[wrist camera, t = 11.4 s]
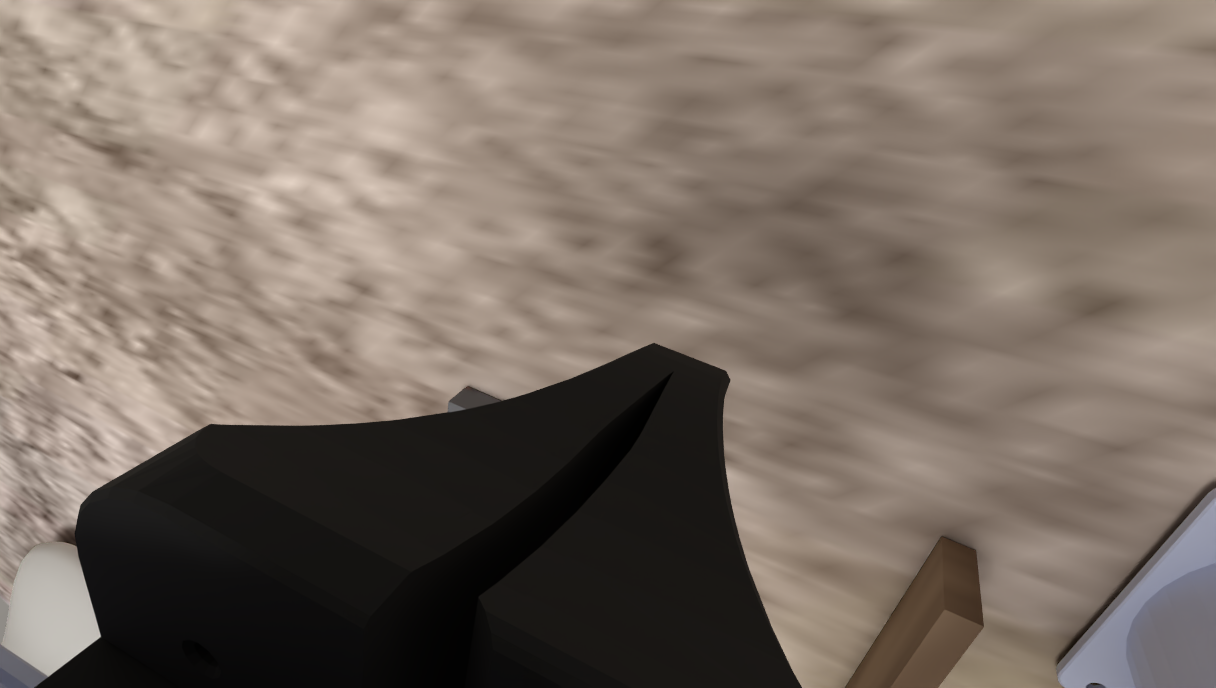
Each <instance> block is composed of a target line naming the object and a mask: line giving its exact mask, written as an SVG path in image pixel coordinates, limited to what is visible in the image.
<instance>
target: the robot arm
mask: <svg viewBox="0 0 1216 688" xmlns="http://www.w3.org/2000/svg"><path fill="white" fill-rule="evenodd" d="M729 383H730V378H729V376H728V374H727V372H726V371H725V370H722V369H720V368H717V367H715V366H712V365H709V364H707V363H704V362H702V361H699V360H696V359H694V358H691V357H689V356H686V355H684V354H681V353H678V352H676V351H673V350H671V349H668V348H666V347H663V346H660V345H658V344H655V343H653V344H650V345H648V346H645V347H643V348H641V349H638V350H636V351H634V352H631V353H629V354H627V355H625V356H623V357H620V358H618V359H616V360H614V361H611V362H609V363H607V364H605V365H602V366H600V367H598V368H595V369H593V370H591V371H588V372H586V373H583V374H581V375H578V376H576V377H574V378H571V379H569V380H566V381H563V382H560V383H557V384H554V385H551V386H548V387H546V388H543V389H540V390H537V391H534V392H531V393H528V394H525V395H522V396H518V397H515V398H511V399H507V400H504V401H500V402H496V403H491V404H487V405H483V406H478V407H474V408H470V409H465V410H460V411H454V412H447V413H441V414H434V415H427V416H421V417H414V418H407V419H400V420H392V421H381V422H369V423H357V424H338V425H314V426H270V425H218V424H210V425H208V426H206V427H204V428H202V429H200V430H199V431H197V432H195V433H193V434H192V435H190V436H188V437H186V438H185V439H183V440H181V441H179V442H178V443H176V444H174V445H173V446H171V447H169V448H167V449H166V450H164V451H162V452H160V453H159V454H157V455H155V456H154V457H152V458H150V459H148V460H147V461H145V462H143V463H141V464H140V465H138V466H136V467H135V468H133V469H131V470H129V471H128V472H126V473H124V474H122V475H121V476H119V477H117V478H116V479H114V480H112V481H110V482H109V483H107V484H105V485H103V486H102V487H100V488H98V489H97V490H95V491H93V492H92V493H91V494H90V495H89V496H88V497H87V498H86V500H85V501H84V502H83V503H82V504H81V506H80V510H79V514H78V519H77V524H76V530H75V539H76V545H77V551H78V557H79V561H80V564H81V568H82V571H83V575H84V578H85V582H86V585H87V589H88V593H89V596H90V600H91V603H92V607H93V610H94V614H95V617H96V621H97V624H98V628H99V632H100V635H101V637H100V638H98V639H97V640H96V641H95V642H93V643H92V644H91V645H89V646H88V647H87V648H85V649H84V650H83V651H81V652H80V653H79V654H77V655H76V656H75V657H74V658H72V659H71V660H70V661H68V662H67V663H66V664H64V665H63V666H62V667H60V668H59V669H58V670H56V671H55V672H54V673H53V674H51V675H50V676H49V677H48V676H47V675H45V674H44V673H42V672H41V671H39V670H38V669H36V668H35V667H33V666H32V665H31V664H29V663H28V662H26V661H25V660H23V659H22V658H20V657H19V656H17V655H16V654H14V653H13V652H11V651H10V650H8V649H7V648H5V647H4V646H2V645H1V644H0V688H802V687H801V685H800V683H799V682H798V680H797V678H796V676H795V675H794V673H793V671H792V669H791V667H790V665H789V663H788V660H787V658H786V656H785V654H784V652H783V650H782V648H781V646H780V644H779V641H778V639H777V637H776V635H775V633H774V631H773V629H772V627H771V624H770V621H769V619H768V616H767V614H766V611H765V609H764V606H763V604H762V601H761V599H760V596H759V593H758V591H757V588H756V586H755V583H754V581H753V578H752V576H751V573H750V570H749V567H748V564H747V561H746V558H745V554H744V551H743V548H742V545H741V541H740V538H739V534H738V530H737V526H736V522H735V518H734V514H733V510H732V505H731V500H730V494H729V489H728V482H727V475H726V468H725V459H724V444H723V407H724V398H725V394H726V391H727V388H728V385H729ZM1056 671H1057V676H1058V681H1059V683H1060V684H1061V685H1062V686H1063V687H1064V688H1216V488H1214V489H1213V490H1212V491H1210V492H1209V493H1208V494H1207V495H1206V496H1205V497H1204V498H1203V499H1202V501H1201V502H1200V503H1199V504H1198V505H1197V506H1196V507H1195V509H1194V510H1193V511H1192V512H1191V513H1190V514H1189V515H1188V517H1187V518H1186V519H1185V520H1184V521H1183V522H1182V523H1181V524H1180V526H1179V527H1178V528H1177V529H1176V530H1175V531H1174V532H1173V534H1172V535H1171V536H1170V537H1169V538H1168V539H1167V540H1166V542H1165V543H1164V544H1163V545H1162V546H1161V547H1160V548H1159V550H1158V551H1157V552H1156V553H1155V554H1154V555H1153V556H1152V558H1151V559H1150V560H1149V561H1148V562H1147V563H1146V564H1145V565H1144V567H1143V568H1142V569H1141V570H1140V571H1139V572H1138V573H1137V575H1136V576H1135V577H1134V578H1133V579H1132V580H1131V581H1130V583H1129V584H1128V585H1127V586H1126V587H1125V588H1124V589H1123V591H1122V592H1121V593H1120V594H1119V595H1118V596H1117V597H1116V598H1115V600H1114V601H1113V602H1112V603H1111V604H1110V605H1109V606H1108V608H1107V609H1106V610H1105V611H1104V612H1103V613H1102V614H1101V616H1100V617H1099V618H1098V619H1097V620H1096V621H1095V622H1094V624H1093V625H1092V626H1091V627H1090V628H1089V629H1088V630H1087V631H1086V633H1085V634H1084V635H1083V636H1082V637H1081V638H1080V639H1079V641H1078V642H1077V643H1076V644H1075V645H1074V646H1073V647H1072V649H1071V650H1070V651H1069V652H1068V653H1067V654H1066V655H1065V657H1064V658H1063V659H1062V660H1061V661H1060V662H1059V663H1058V665H1057V667H1056ZM1090 683H1099V684H1100V685H1091V684H1090Z"/></svg>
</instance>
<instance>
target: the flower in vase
mask: <svg viewBox="0 0 1216 688" xmlns="http://www.w3.org/2000/svg"><path fill="white" fill-rule="evenodd" d="M100 637H101V635H100V632H99V628H98V624H97V621H96V617H95V614H94V610H93V607H92V603H91V600H90V596H89V593H88V589H87V585H86V582H85V578H84V575H83V571H82V568H81V564H80V561H79V557H78V551H77V546H75V545H72V544H69V543H65V542H49V543H41V544H38V545H36V546H34V547H33V548H32V550H31V551H30V552H29V553H28V554H27V555H26V556H25V558H24V559H23V560H22V562H21V564H20V567H19V569H18V572H17V575H16V578H15V581H14V585H13V590H12V595H11V600H10V606H9V613H8V619H7V624H6V629H5V633H4V638H3V641H2V643H1V645H2V646H4V647H5V648H7V649H8V650H10V651H11V652H13V653H14V654H16V655H17V656H19V657H20V658H22V659H23V660H25V661H26V662H28V663H29V664H31V665H32V666H33V667H35V668H36V669H38V670H39V671H41V672H42V673H44V674H45V675H47V676H48V677H49V676H50V675H51V674H53V673H54V672H55V671H56V670H58V669H59V668H60V667H62V666H63V665H64V664H66V663H67V662H68V661H70V660H71V659H72V658H74V657H75V656H76V655H77V654H79V653H80V652H81V651H83V650H84V649H85V648H87V647H88V646H89V645H91V644H92V643H93V642H95V641H96V640H97V639H98V638H100Z"/></svg>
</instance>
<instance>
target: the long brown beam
mask: <svg viewBox="0 0 1216 688" xmlns="http://www.w3.org/2000/svg"><path fill="white" fill-rule="evenodd" d="M983 627H984V623H983V613H982V604H981V594H980V584H979V575H978V565H977V555H976V551H975V550H973V549H970V548H968V547H966V546H963V545H961V544H958V543H956V542H954V541H951V540H949V539H946V538H944V537H941V538H940V540H939V541H938V543H937V545H936V546H935V548H934V549H933V551H932V552H931V554H930V556H929V557H928V559H927V560H926V562H925V563H924V565H923V567H922V568H921V570H920V571H919V573H918V574H917V576H916V578H915V579H914V581H913V582H912V584H911V585H910V587H909V589H908V590H907V592H906V593H905V595H904V596H903V598H902V600H901V601H900V603H899V604H898V606H897V607H896V609H895V610H894V612H893V614H892V615H891V617H890V618H889V620H888V621H887V623H886V625H885V626H884V628H883V629H882V631H881V632H880V634H879V636H878V637H877V639H876V640H875V642H874V643H873V645H872V647H871V648H870V650H869V651H868V653H867V654H866V656H865V658H864V659H863V661H862V662H861V664H860V665H859V667H858V669H857V670H856V672H855V673H854V675H853V676H852V678H851V680H850V681H849V683H848V684H847V686H846V687H845V688H938V687H939V686H940V684H941V683H942V682H943V680H944V679H945V678H946V676H947V675H948V674H949V672H950V671H951V670H952V668H953V667H954V666H955V664H956V663H957V662H958V660H959V659H960V658H961V656H962V655H963V654H964V652H965V651H966V650H967V648H968V647H969V646H970V644H971V643H972V642H973V641H974V639H975V638H976V637H977V635H978V634H979V633H980V631H981V630H982V629H983Z"/></svg>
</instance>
